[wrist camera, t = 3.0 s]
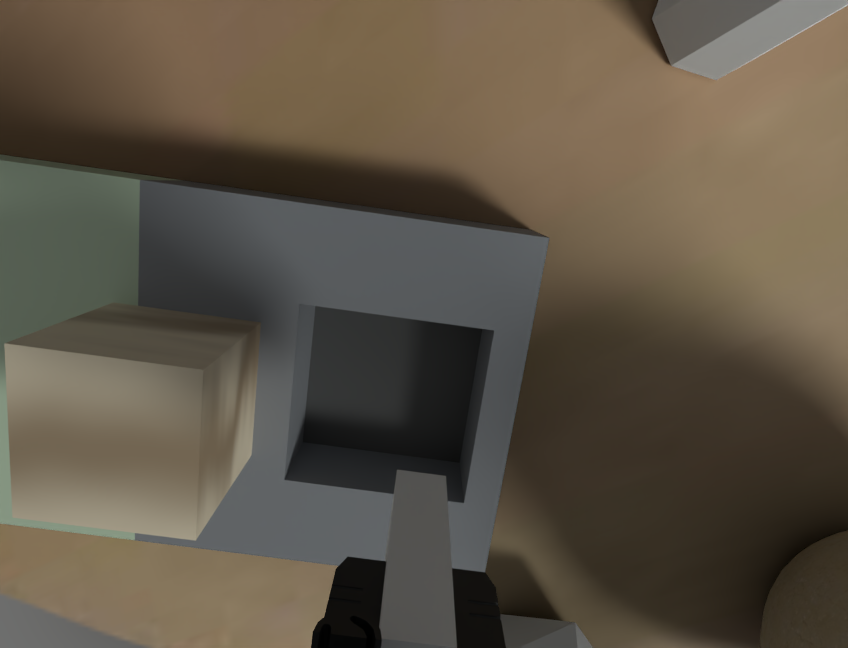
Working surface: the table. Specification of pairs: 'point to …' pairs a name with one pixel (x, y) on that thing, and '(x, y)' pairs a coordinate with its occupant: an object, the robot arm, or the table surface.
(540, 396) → the table surface
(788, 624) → the vase
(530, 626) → the die
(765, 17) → the pepper shaker
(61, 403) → the birch block
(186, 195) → the board
